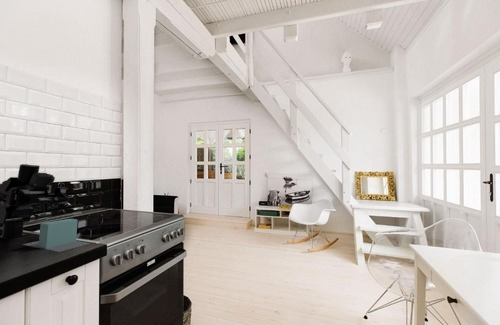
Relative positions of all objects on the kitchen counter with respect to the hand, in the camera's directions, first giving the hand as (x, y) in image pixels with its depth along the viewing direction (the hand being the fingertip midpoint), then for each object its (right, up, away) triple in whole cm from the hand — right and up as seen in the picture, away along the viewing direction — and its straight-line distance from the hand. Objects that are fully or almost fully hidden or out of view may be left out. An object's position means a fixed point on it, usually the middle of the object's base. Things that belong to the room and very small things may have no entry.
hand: (54, 200), depth 85 cm
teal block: (+4, -15, -3) cm, 16 cm away
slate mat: (+3, -16, -3) cm, 16 cm away
